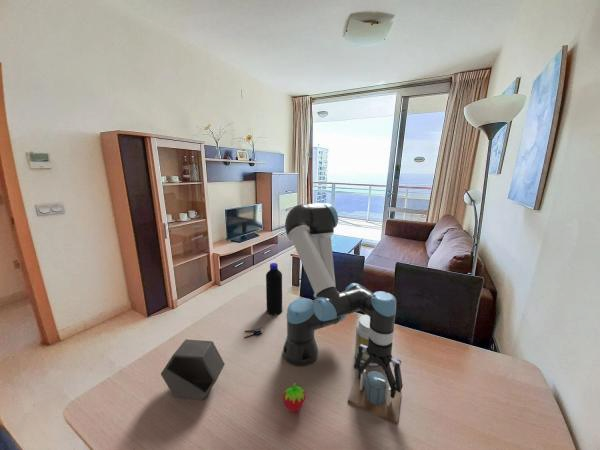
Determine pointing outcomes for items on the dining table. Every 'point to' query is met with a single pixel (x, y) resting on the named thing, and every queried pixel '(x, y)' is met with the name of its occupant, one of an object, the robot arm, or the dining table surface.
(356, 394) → the stud board
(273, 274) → the bottle
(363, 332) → the supplement tub
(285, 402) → the strawberry
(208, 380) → the planter
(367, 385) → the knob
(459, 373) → the dining table surface
